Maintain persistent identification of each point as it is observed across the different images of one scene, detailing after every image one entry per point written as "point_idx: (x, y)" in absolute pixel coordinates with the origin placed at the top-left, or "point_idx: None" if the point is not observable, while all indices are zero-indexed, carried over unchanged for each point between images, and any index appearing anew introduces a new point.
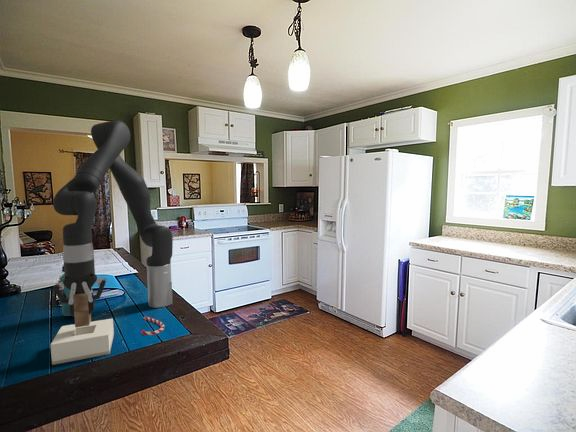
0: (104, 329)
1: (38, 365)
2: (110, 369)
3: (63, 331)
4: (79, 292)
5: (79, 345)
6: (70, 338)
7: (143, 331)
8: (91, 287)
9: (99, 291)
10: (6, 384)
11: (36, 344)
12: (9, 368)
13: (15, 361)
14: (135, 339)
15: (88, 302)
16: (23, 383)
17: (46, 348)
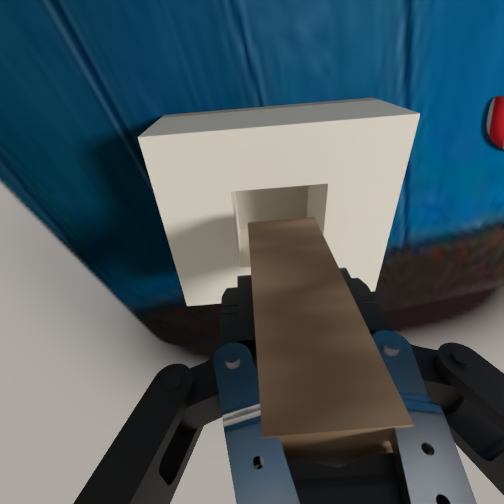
0: (363, 244)
1: (155, 249)
2: None
3: (183, 213)
4: (313, 461)
5: None
6: None
7: (500, 124)
8: (457, 459)
9: (492, 459)
10: (128, 306)
11: (23, 66)
12: (73, 242)
13: (56, 204)
14: (444, 170)
15: None
16: (167, 311)
17: (107, 132)
